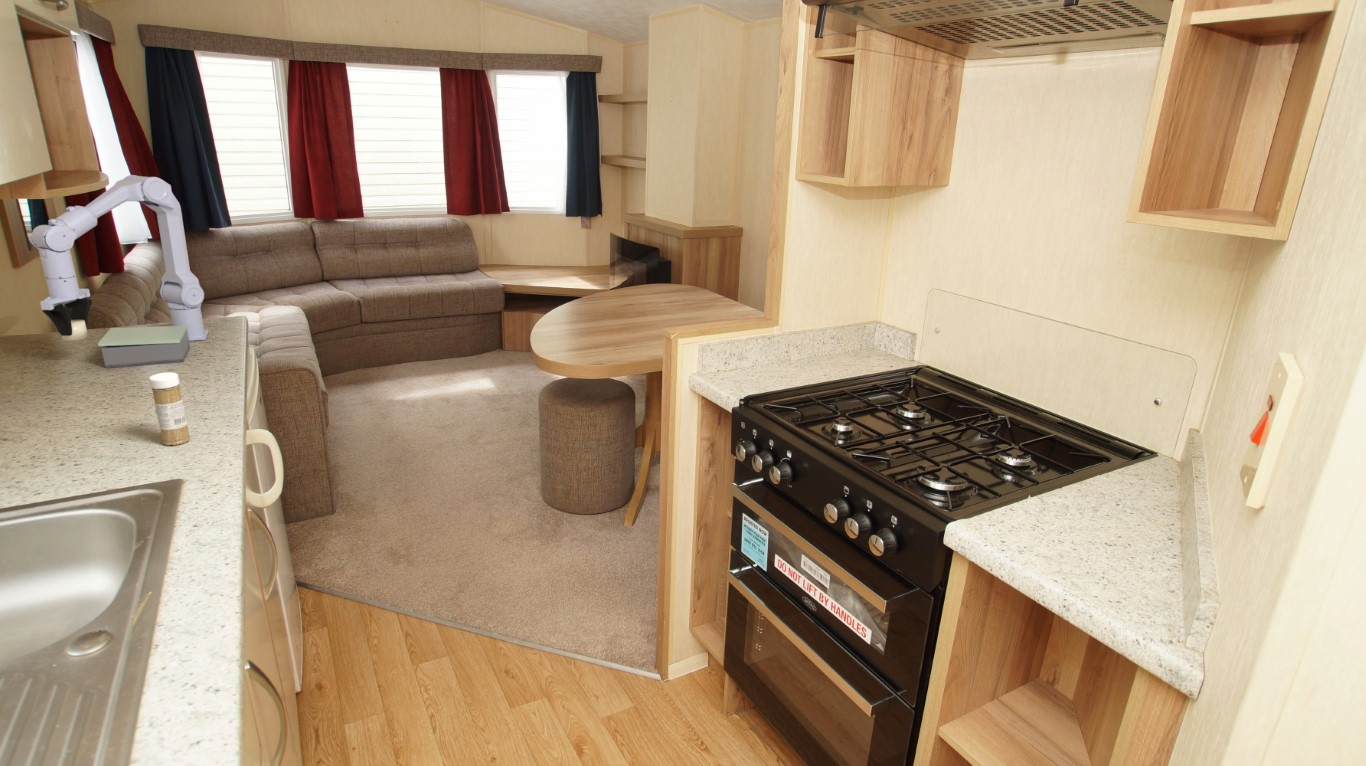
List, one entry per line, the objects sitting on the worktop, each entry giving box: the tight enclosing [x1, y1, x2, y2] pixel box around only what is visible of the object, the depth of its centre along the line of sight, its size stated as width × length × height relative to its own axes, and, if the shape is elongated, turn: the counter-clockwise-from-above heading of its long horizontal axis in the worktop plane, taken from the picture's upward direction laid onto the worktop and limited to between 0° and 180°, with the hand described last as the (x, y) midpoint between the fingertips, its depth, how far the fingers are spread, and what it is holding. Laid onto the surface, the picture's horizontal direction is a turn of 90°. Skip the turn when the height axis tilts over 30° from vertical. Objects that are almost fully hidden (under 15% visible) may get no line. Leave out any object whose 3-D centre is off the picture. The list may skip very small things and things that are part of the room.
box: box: [101, 330, 191, 369], centre depth 191 cm, size 14×16×5 cm
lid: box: [97, 325, 187, 347], centre depth 190 cm, size 15×16×1 cm
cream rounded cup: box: [61, 319, 89, 342], centre depth 182 cm, size 5×5×4 cm
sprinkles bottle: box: [148, 371, 191, 446], centre depth 142 cm, size 5×5×14 cm
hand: (74, 332), depth 183 cm, fingers closed on cream rounded cup, 5 cm apart
